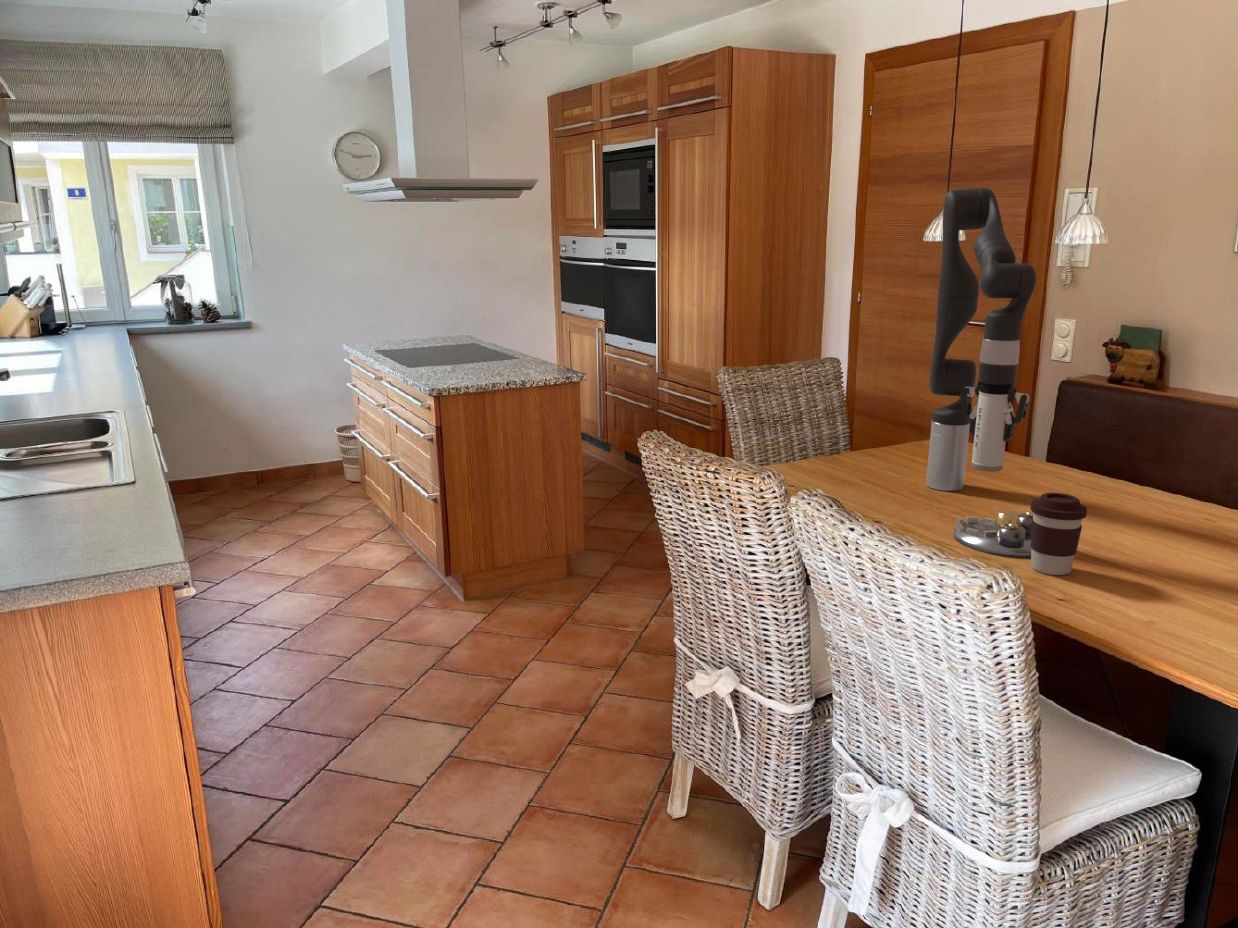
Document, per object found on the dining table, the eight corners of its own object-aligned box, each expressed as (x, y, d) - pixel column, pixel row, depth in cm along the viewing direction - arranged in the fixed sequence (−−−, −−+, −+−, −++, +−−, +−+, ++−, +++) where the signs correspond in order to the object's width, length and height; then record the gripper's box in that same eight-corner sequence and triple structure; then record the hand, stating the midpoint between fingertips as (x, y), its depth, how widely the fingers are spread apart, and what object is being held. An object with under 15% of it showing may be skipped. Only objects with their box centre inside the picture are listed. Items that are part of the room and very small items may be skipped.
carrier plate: (975, 518, 210) (978, 492, 208) (1071, 539, 196) (1075, 512, 194) (936, 541, 195) (939, 513, 193) (1038, 565, 181) (1042, 536, 179)
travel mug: (1003, 465, 197) (1013, 375, 191) (1001, 473, 191) (1012, 379, 186) (972, 462, 199) (982, 373, 194) (970, 469, 193) (979, 377, 188)
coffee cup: (1015, 560, 184) (1024, 489, 180) (1064, 560, 184) (1074, 490, 180) (1035, 578, 174) (1045, 504, 170) (1087, 579, 174) (1098, 505, 170)
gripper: (1040, 362, 187) (1031, 440, 191) (972, 355, 196) (964, 430, 201) (1027, 366, 182) (1018, 446, 186) (958, 359, 191) (950, 436, 195)
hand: (990, 437), depth 193 cm, fingers closed on travel mug, 6 cm apart
